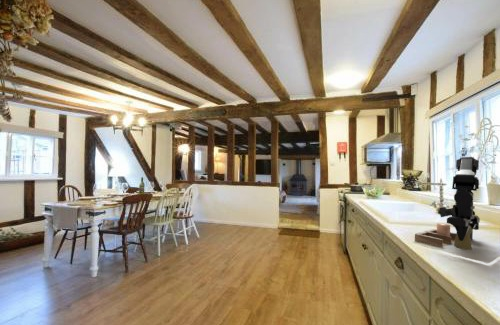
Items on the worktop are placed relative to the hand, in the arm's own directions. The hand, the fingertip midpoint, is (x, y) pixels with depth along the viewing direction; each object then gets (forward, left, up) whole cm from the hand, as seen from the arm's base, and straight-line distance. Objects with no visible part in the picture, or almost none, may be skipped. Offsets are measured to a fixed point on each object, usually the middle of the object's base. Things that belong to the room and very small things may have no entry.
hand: (462, 239), depth 104 cm
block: (-6, -9, -3) cm, 11 cm away
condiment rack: (-1, -10, -4) cm, 10 cm away
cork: (0, 0, -4) cm, 4 cm away
